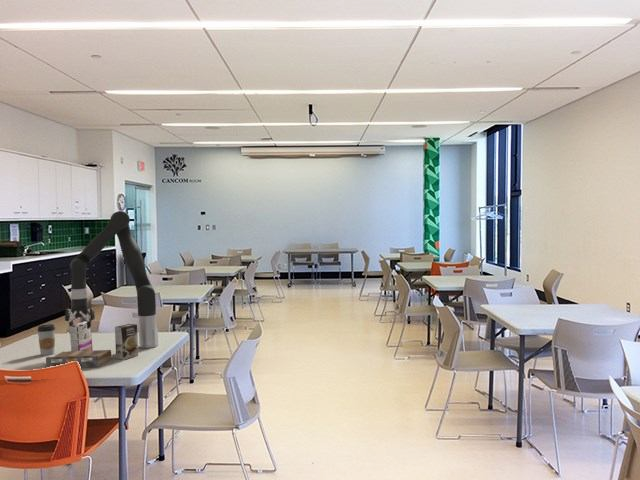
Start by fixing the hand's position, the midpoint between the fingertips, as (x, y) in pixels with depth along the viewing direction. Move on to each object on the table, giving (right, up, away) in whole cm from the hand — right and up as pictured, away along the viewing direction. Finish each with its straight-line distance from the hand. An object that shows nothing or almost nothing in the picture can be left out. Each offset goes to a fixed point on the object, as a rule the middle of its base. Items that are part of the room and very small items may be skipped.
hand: (80, 328), depth 276 cm
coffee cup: (-19, -14, +5) cm, 25 cm away
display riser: (+7, -14, -15) cm, 22 cm away
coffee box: (+27, -13, -7) cm, 31 cm away
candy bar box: (+1, -14, +1) cm, 14 cm away
